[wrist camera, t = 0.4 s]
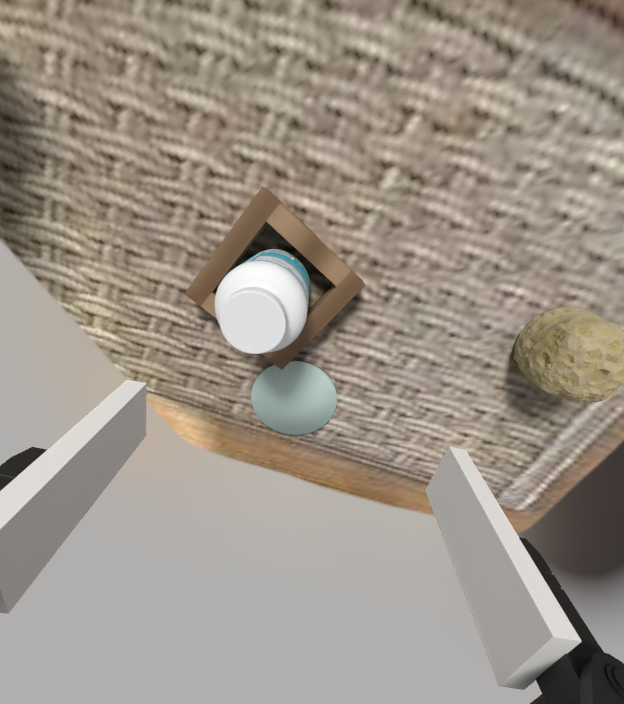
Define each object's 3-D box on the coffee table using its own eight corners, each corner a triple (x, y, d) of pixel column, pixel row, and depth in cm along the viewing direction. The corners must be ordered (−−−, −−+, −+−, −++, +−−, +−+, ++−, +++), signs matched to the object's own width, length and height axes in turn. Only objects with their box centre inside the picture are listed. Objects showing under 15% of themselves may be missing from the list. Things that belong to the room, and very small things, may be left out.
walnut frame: (194, 287, 34) (184, 293, 32) (267, 188, 30) (262, 186, 27) (284, 359, 37) (281, 370, 35) (361, 279, 33) (365, 285, 31)
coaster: (234, 400, 40) (233, 402, 40) (289, 343, 36) (288, 344, 36) (298, 445, 43) (298, 448, 43) (354, 396, 39) (354, 398, 39)
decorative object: (518, 296, 37) (508, 340, 31) (638, 291, 31) (657, 344, 25) (516, 359, 41) (507, 409, 35) (621, 366, 35) (633, 428, 29)
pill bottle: (258, 324, 36) (225, 382, 23) (231, 261, 33) (177, 290, 21) (320, 304, 34) (319, 355, 22) (297, 237, 32) (282, 253, 19)
